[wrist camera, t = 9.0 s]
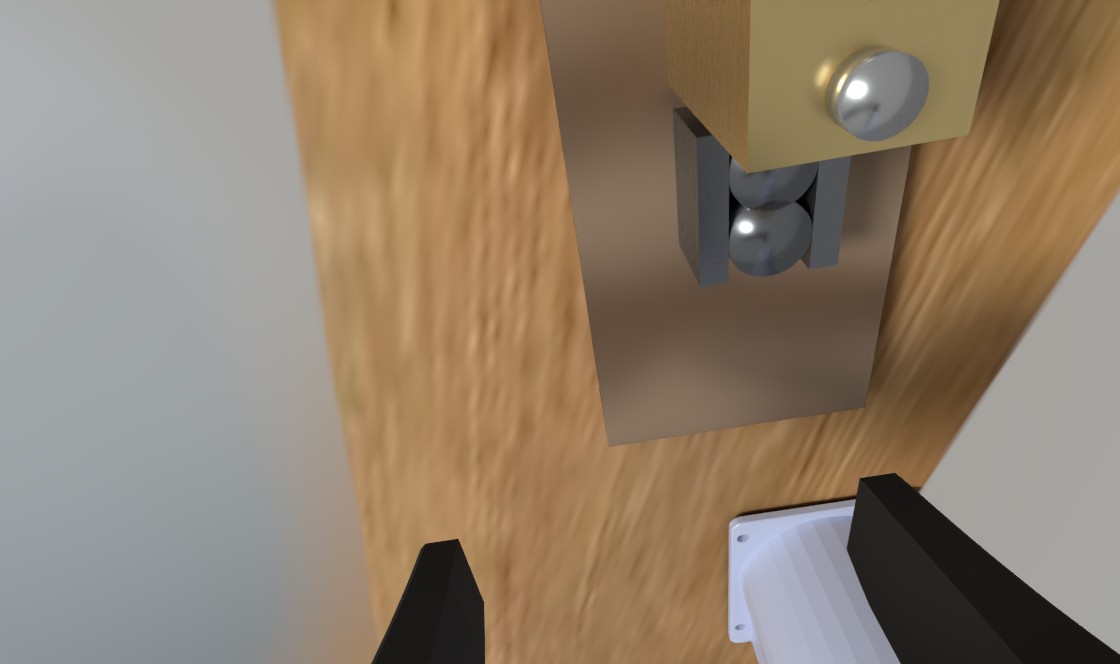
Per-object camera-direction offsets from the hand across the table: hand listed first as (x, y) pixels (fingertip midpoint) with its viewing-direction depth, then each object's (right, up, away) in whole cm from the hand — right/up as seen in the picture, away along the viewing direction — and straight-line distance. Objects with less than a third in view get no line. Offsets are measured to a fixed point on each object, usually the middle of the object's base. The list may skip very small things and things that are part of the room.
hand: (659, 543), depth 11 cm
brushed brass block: (+2, +12, +2) cm, 12 cm away
